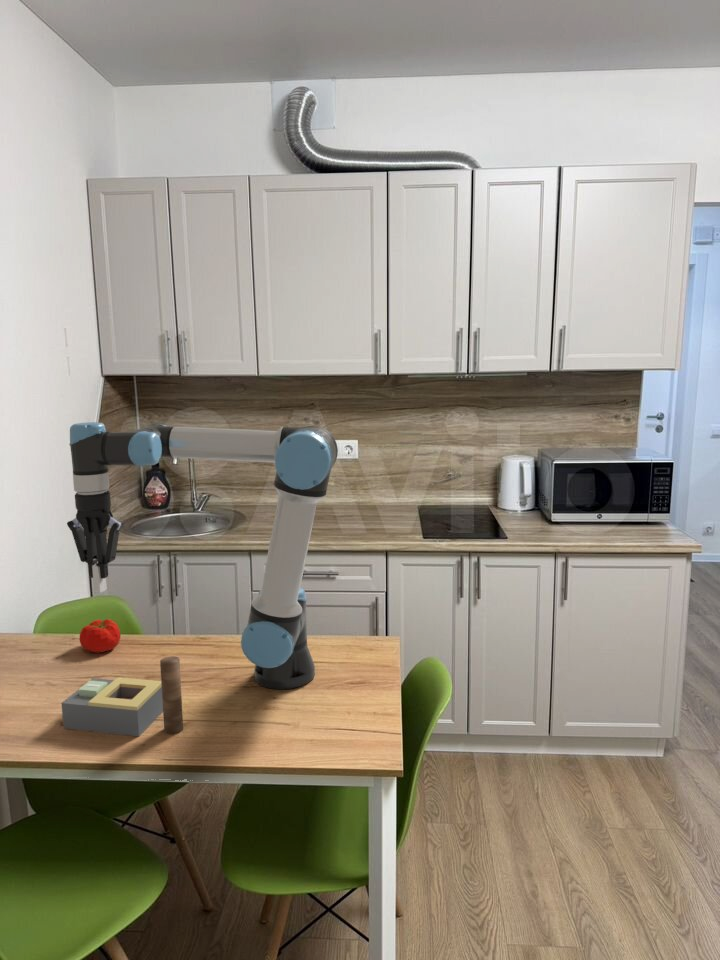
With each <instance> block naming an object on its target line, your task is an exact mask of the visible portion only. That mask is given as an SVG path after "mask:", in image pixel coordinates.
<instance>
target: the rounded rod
mask: <svg viewBox="0 0 720 960" xmlns="http://www.w3.org/2000/svg"><path fill="white" fill-rule="evenodd" d="M180 660H181V659H180V658H179V657H178V656H174V655H173V656H166V657H163V658H161V659H160V661H159V664H160V666H159V667H160V681H161V685H162V701H163V712H162V715H163V729H164V730H163V731H164V733H165V734H167V735H176V734H179V733H181V732H183V730H184V721H183V719H184V718H183V717H184V715H183V701H182V699H183V698H182V684H181V683H182V682H181V663H180Z"/></svg>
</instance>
